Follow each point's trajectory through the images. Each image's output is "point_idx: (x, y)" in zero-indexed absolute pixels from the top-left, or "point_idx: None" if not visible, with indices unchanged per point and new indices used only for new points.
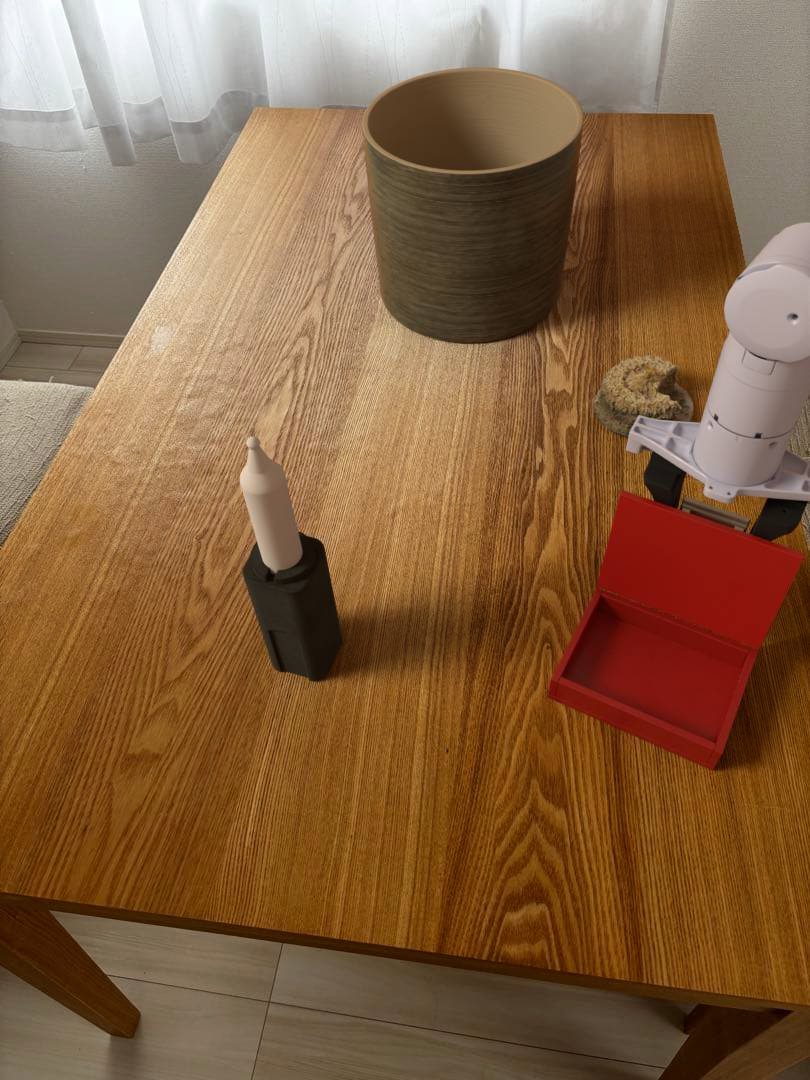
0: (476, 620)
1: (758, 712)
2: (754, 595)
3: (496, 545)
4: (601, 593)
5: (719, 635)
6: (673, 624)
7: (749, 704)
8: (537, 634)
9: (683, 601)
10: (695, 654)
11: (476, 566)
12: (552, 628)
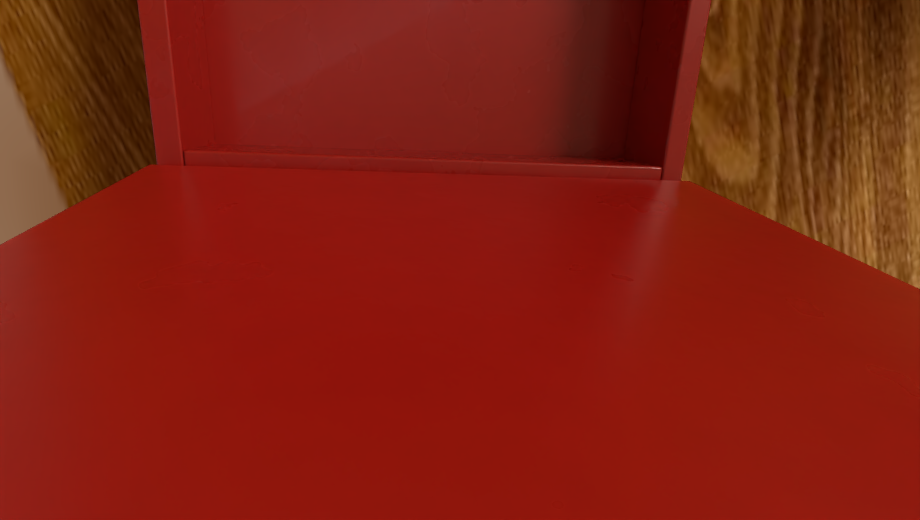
0: (890, 6)
1: (122, 31)
2: (134, 260)
3: (873, 248)
4: (663, 171)
5: None
6: (436, 157)
7: None
8: (740, 30)
9: (442, 197)
10: (346, 135)
11: (909, 169)
12: (708, 67)
